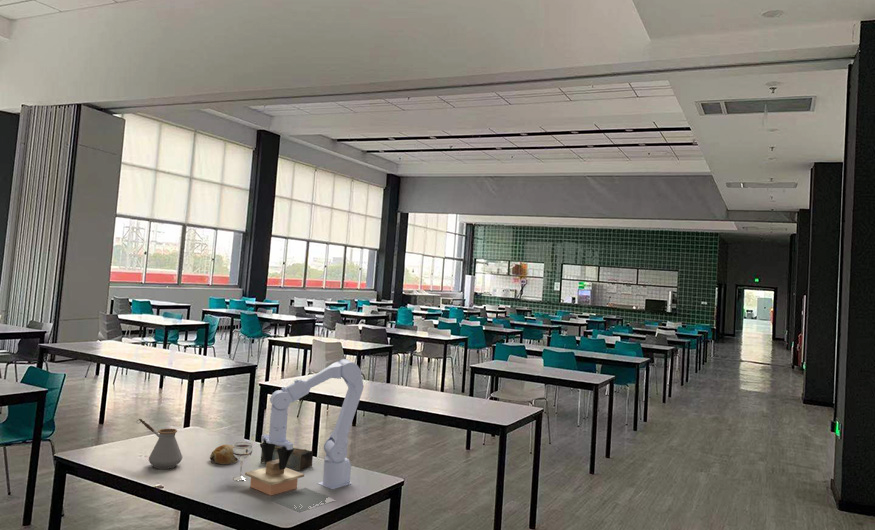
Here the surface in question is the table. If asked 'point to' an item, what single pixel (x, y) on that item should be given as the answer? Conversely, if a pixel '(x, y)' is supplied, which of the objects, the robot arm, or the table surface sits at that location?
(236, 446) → the wineglass
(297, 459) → the beverage carton
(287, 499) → the mat
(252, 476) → the lid
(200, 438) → the table surface
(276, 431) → the robot arm
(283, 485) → the orange open box
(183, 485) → the table surface
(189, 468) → the table surface
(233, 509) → the table surface
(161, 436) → the coffee pot
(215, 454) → the bread roll
